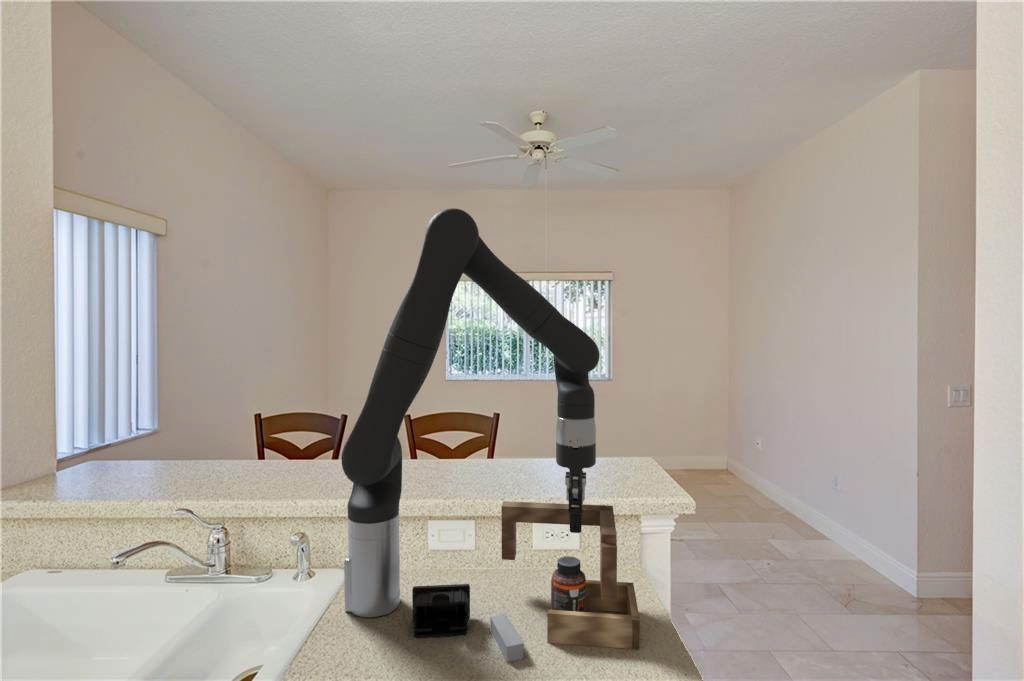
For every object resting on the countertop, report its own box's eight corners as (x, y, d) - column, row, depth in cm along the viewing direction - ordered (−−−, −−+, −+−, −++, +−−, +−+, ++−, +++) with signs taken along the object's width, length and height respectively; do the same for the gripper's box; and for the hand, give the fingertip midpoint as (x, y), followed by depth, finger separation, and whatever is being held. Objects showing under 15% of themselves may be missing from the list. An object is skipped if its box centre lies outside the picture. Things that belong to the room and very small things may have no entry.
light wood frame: (547, 642, 94) (547, 613, 94) (551, 603, 107) (551, 577, 106) (639, 649, 92) (639, 619, 92) (632, 609, 105) (633, 582, 104)
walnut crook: (491, 592, 97) (490, 532, 97) (503, 553, 113) (503, 501, 112) (616, 599, 95) (617, 538, 94) (612, 558, 110) (612, 505, 109)
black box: (469, 613, 103) (469, 577, 103) (470, 636, 96) (470, 597, 96) (413, 616, 102) (413, 579, 102) (410, 639, 95) (410, 600, 95)
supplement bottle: (583, 635, 97) (584, 570, 96) (549, 630, 98) (549, 566, 97) (586, 616, 102) (587, 555, 102) (553, 612, 104) (554, 552, 103)
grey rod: (490, 632, 98) (490, 616, 97) (505, 629, 99) (505, 613, 98) (506, 663, 89) (506, 646, 89) (523, 660, 90) (523, 643, 90)
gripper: (557, 431, 115) (557, 514, 116) (554, 448, 101) (554, 542, 102) (595, 432, 114) (594, 516, 115) (596, 449, 100) (596, 544, 101)
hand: (575, 528), depth 109 cm, fingers closed on walnut crook, 2 cm apart
